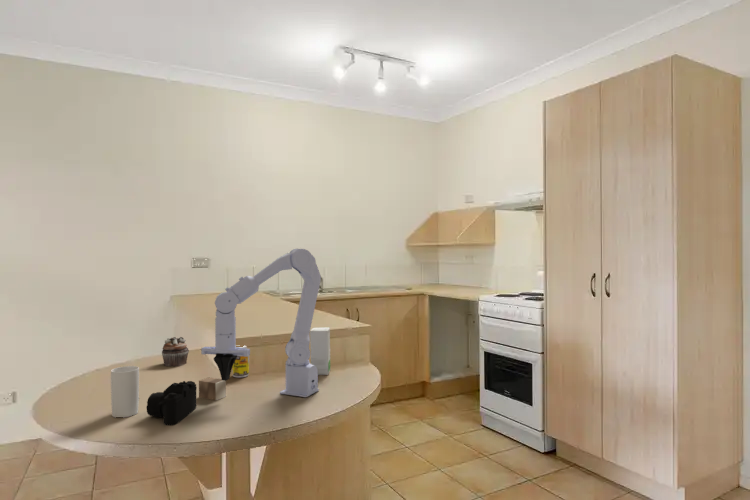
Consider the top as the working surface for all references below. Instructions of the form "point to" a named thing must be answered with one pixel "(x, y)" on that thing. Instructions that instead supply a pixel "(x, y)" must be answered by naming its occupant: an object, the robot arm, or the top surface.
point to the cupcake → (175, 352)
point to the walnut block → (212, 388)
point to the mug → (124, 391)
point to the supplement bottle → (241, 366)
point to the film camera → (173, 402)
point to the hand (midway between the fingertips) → (225, 379)
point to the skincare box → (320, 349)
